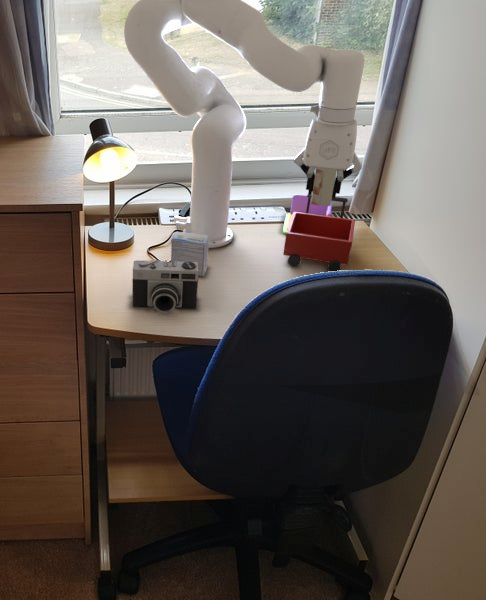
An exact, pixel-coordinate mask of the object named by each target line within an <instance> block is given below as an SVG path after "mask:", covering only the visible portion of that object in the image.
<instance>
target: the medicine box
mask: <svg viewBox="0 0 486 600" xmlns="http://www.w3.org/2000/svg"><path fill="white" fill-rule="evenodd" d="M170 241H171V243H170V244H171V245H170V248H171V249H170V262H174V261H176V262H177V261H179V262H198V277H205V274H206V271H207V269H208V265H209V264H208V263H209V249H210V248H209V236H207V235H200V234H193V233H185V232H183V231H175V233H174V235H173V236H172V238H171V240H170Z"/></svg>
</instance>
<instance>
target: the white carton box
mask: <svg viewBox="0 0 486 600" xmlns="http://www.w3.org/2000/svg"><path fill="white" fill-rule="evenodd" d="M314 175H315V178H314V185H313V191H312V198H311V204H314V205H323V206H330V205H331V200H332V194H333V188H334V183H335V179H336V177H337V170H336V169H330V168H322V167H316V168H315V171H314Z"/></svg>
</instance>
